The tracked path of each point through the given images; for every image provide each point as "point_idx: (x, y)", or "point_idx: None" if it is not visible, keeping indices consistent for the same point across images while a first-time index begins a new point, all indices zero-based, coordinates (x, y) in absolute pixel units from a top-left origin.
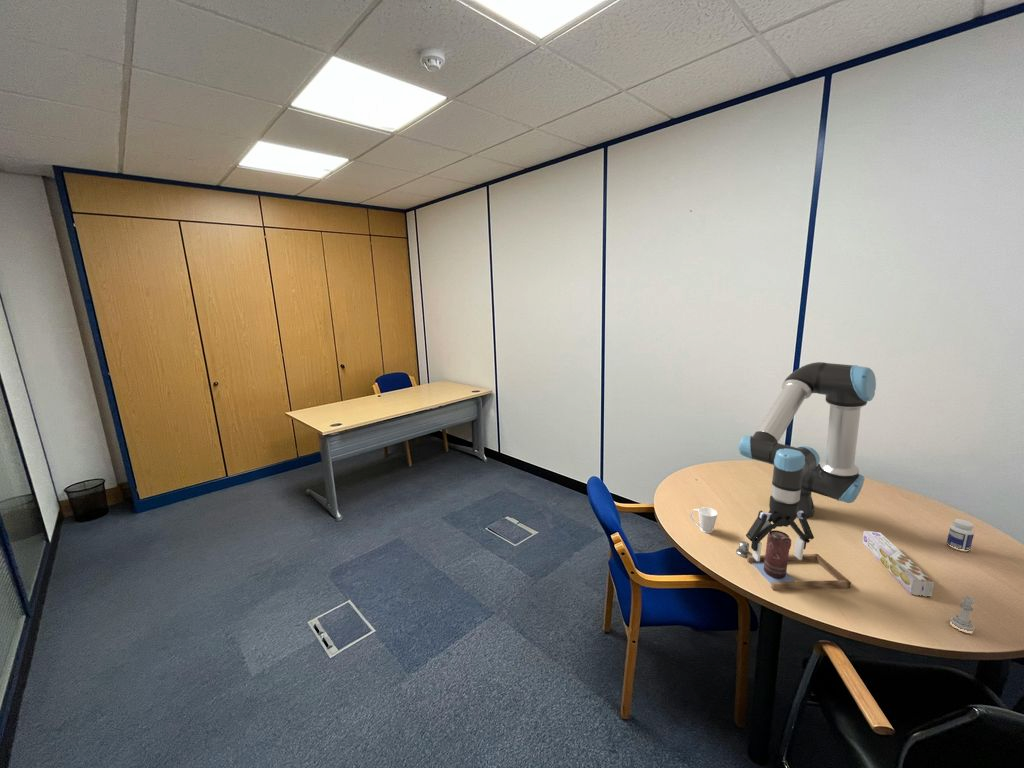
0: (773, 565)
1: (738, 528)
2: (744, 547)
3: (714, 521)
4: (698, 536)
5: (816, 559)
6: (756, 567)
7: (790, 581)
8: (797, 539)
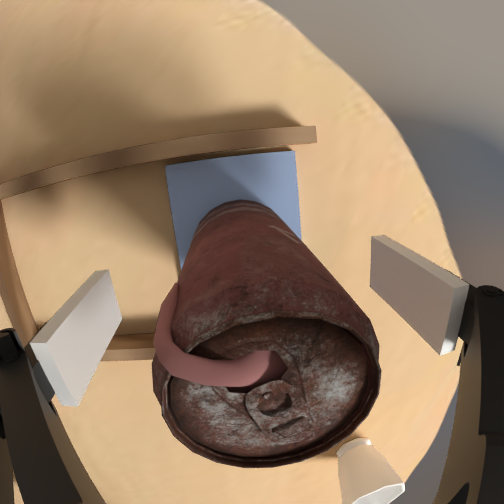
0: (285, 224)
1: (243, 471)
2: None
3: (358, 475)
4: (396, 417)
5: None
6: None
7: (192, 187)
8: (74, 385)
